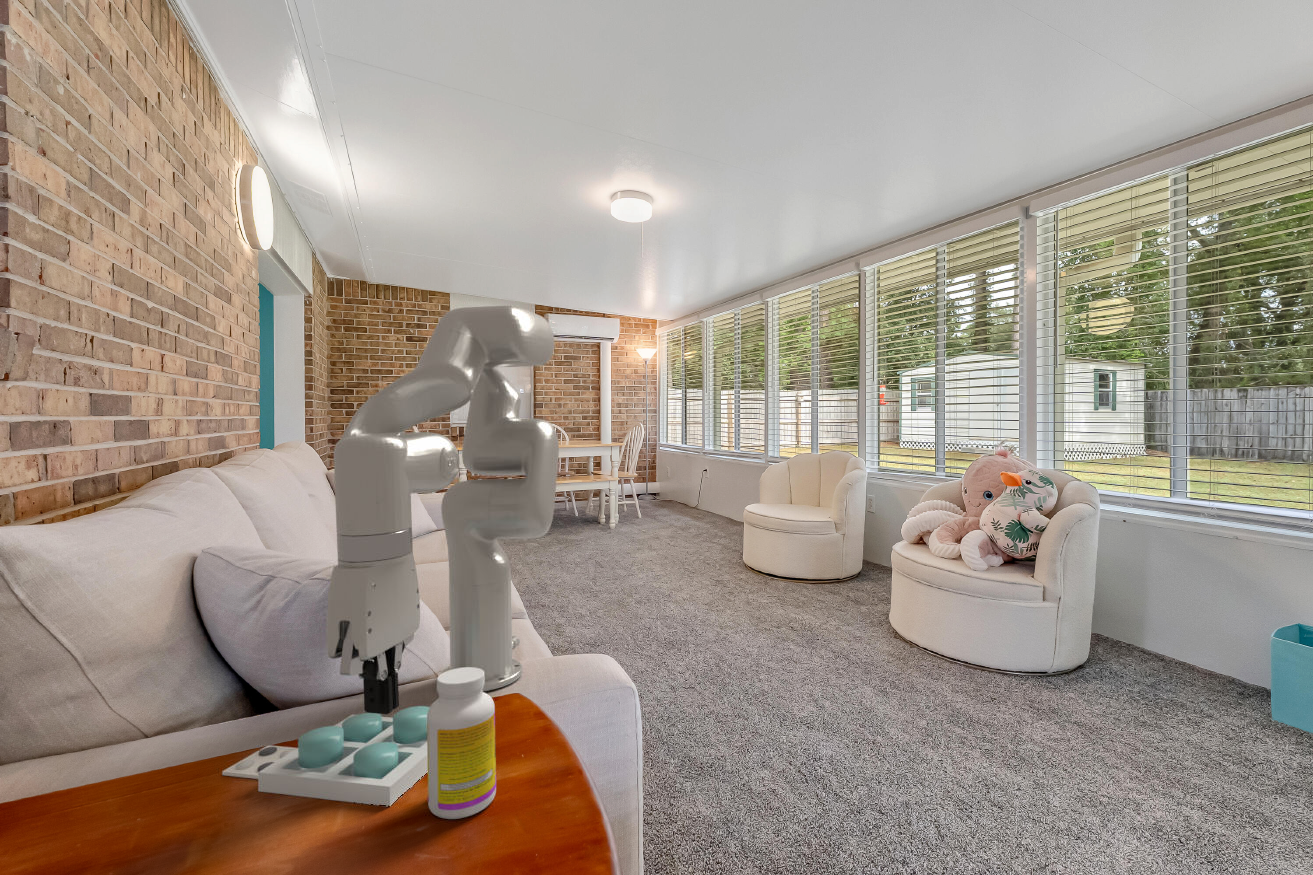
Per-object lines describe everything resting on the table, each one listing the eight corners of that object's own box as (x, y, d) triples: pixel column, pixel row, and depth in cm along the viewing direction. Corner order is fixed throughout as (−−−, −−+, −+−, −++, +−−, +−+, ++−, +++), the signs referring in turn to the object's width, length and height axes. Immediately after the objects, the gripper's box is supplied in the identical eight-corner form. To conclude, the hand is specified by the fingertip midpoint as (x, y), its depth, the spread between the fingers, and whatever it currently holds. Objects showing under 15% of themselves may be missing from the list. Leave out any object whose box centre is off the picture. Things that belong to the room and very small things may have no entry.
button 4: (408, 725, 72) (408, 704, 73) (440, 727, 72) (439, 707, 72) (384, 742, 68) (384, 720, 68) (418, 745, 67) (417, 723, 67)
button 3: (372, 762, 66) (372, 740, 66) (406, 766, 65) (406, 743, 65) (344, 784, 62) (343, 760, 62) (380, 788, 61) (380, 764, 61)
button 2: (359, 731, 74) (359, 711, 74) (389, 733, 73) (389, 713, 73) (333, 748, 70) (333, 727, 70) (365, 751, 69) (365, 730, 69)
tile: (268, 748, 71) (268, 743, 71) (309, 752, 70) (309, 747, 70) (222, 774, 66) (222, 769, 66) (266, 779, 64) (266, 774, 64)
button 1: (319, 746, 68) (319, 724, 68) (352, 749, 67) (352, 727, 67) (288, 766, 63) (288, 743, 63) (323, 769, 62) (322, 746, 62)
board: (352, 729, 76) (352, 714, 76) (463, 739, 72) (463, 723, 73) (258, 791, 62) (258, 772, 62) (390, 806, 59) (389, 786, 59)
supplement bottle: (509, 799, 60) (507, 673, 60) (448, 831, 55) (446, 693, 55) (475, 776, 64) (473, 658, 64) (416, 803, 59) (414, 676, 60)
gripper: (390, 533, 73) (395, 678, 73) (291, 561, 58) (299, 743, 58) (444, 534, 71) (449, 682, 71) (357, 563, 56) (364, 749, 57)
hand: (381, 709), depth 65 cm, fingers closed
